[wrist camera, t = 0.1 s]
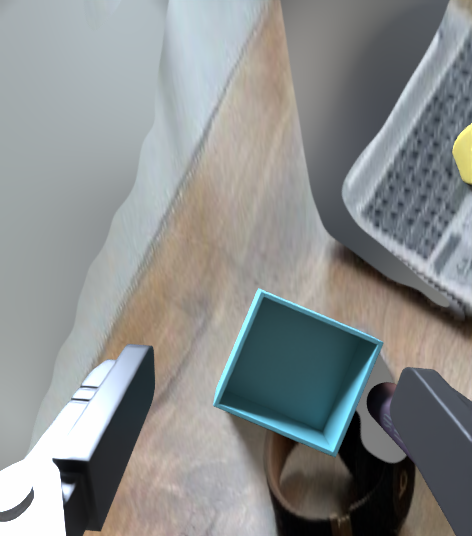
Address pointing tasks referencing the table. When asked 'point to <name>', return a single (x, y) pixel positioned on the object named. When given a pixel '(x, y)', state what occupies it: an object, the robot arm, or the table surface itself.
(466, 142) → the flower pot
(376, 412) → the beverage can
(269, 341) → the box
